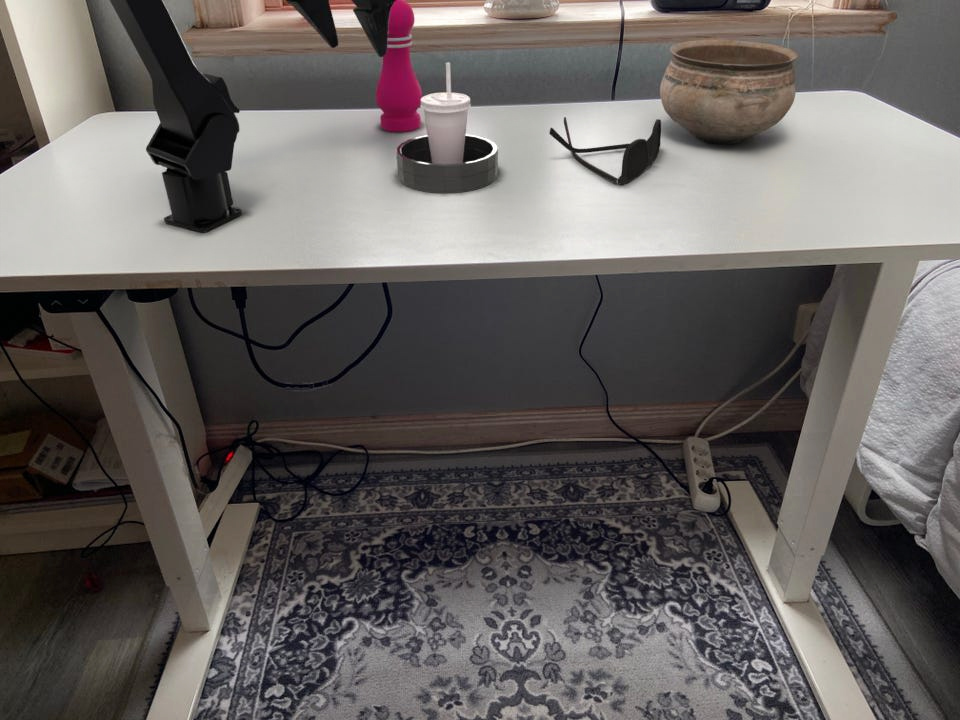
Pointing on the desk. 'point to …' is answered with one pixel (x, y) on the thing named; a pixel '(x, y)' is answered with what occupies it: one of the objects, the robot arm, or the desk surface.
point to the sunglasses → (633, 159)
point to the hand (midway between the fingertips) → (358, 51)
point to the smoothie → (446, 123)
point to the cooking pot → (728, 88)
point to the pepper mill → (399, 75)
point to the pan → (447, 166)
